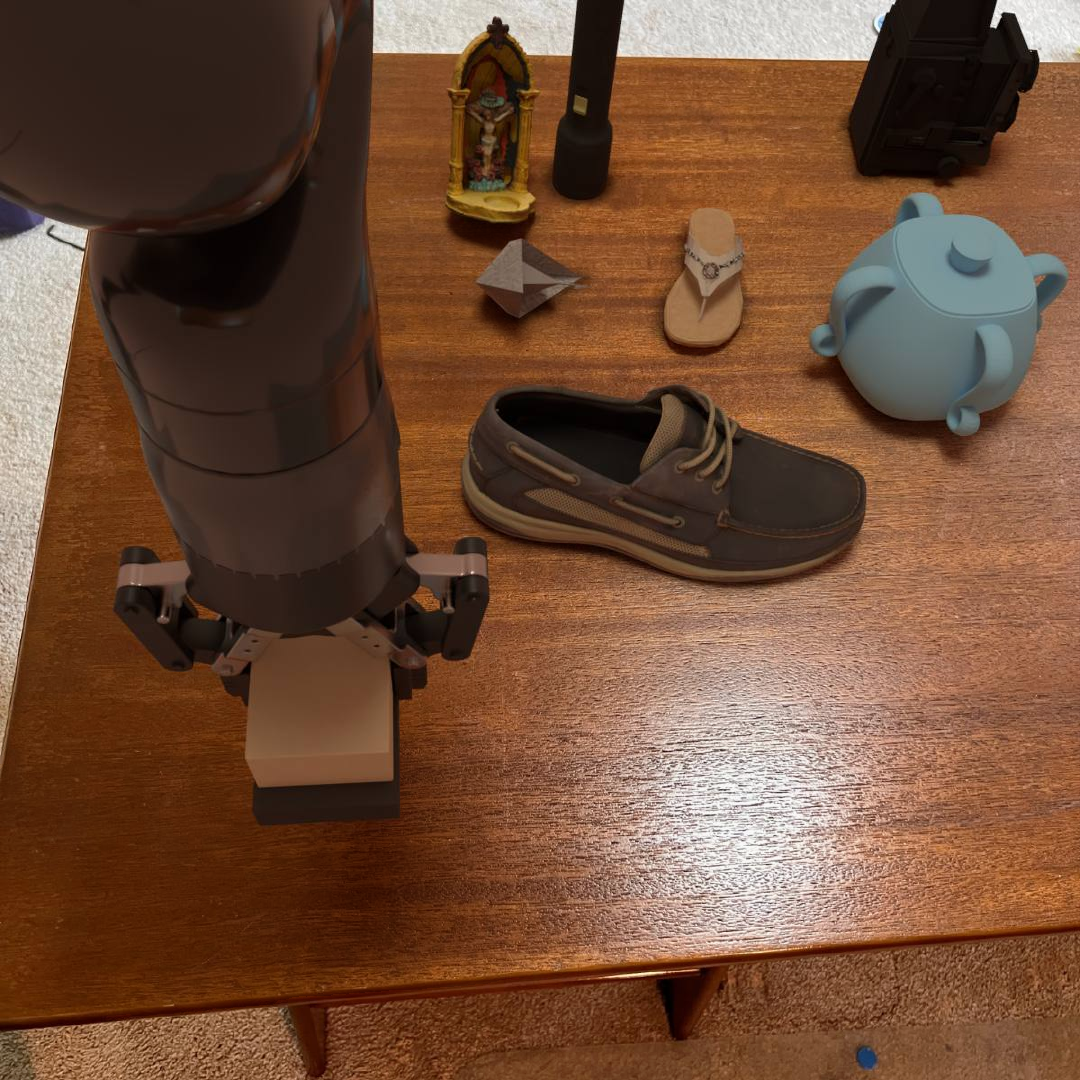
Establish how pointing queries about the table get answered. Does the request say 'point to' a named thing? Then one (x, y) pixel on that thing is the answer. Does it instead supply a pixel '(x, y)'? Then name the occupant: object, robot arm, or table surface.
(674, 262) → the table surface
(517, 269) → the paper boat
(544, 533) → the boat shoe
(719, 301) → the sandal
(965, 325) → the decorative pot
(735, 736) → the table surface
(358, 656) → the board eraser
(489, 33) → the shrine
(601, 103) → the flashlight
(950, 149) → the camera
